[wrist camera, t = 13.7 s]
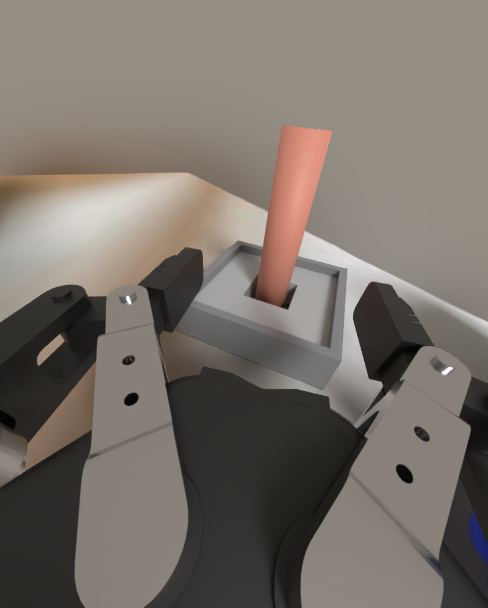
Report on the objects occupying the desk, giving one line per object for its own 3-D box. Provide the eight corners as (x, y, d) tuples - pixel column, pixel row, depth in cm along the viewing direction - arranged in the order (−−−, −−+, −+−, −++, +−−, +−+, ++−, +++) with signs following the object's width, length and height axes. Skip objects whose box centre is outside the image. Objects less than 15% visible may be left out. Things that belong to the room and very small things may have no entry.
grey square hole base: (177, 331, 21) (171, 299, 18) (236, 266, 31) (238, 240, 28) (322, 389, 17) (341, 361, 15) (334, 295, 27) (347, 269, 25)
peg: (248, 315, 23) (276, 124, 13) (258, 299, 25) (288, 126, 15) (276, 325, 22) (329, 130, 12) (284, 307, 25) (334, 131, 14)
